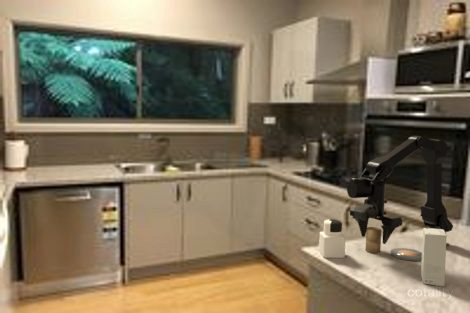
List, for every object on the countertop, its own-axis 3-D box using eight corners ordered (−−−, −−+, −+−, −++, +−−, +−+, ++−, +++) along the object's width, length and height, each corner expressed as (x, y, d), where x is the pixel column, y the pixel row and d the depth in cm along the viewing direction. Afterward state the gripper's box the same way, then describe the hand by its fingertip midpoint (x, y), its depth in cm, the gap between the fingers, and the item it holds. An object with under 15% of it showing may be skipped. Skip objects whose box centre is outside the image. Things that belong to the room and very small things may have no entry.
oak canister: (372, 247, 148) (373, 226, 147) (383, 252, 144) (384, 229, 143) (362, 249, 145) (363, 228, 144) (373, 254, 141) (374, 231, 140)
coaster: (404, 248, 148) (404, 246, 148) (432, 258, 138) (432, 255, 138) (383, 253, 142) (383, 250, 142) (411, 263, 133) (411, 260, 133)
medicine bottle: (338, 251, 143) (340, 217, 142) (344, 258, 136) (346, 223, 135) (318, 251, 143) (320, 217, 142) (323, 258, 136) (325, 223, 135)
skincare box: (444, 287, 115) (448, 236, 113) (421, 283, 117) (424, 233, 115) (441, 276, 122) (445, 228, 121) (419, 273, 125) (422, 226, 123)
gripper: (339, 193, 146) (337, 236, 148) (382, 204, 130) (379, 251, 132) (361, 191, 152) (359, 232, 153) (404, 201, 136) (401, 246, 138)
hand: (373, 240), depth 144 cm, fingers open, 9 cm apart
